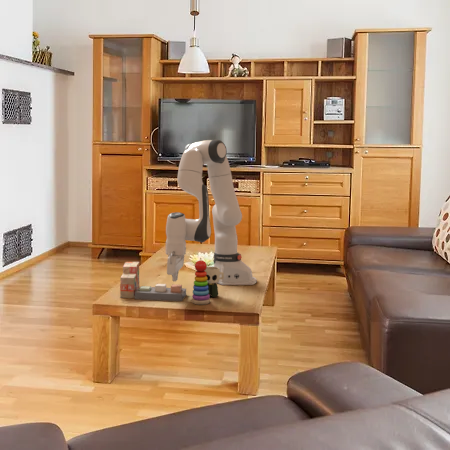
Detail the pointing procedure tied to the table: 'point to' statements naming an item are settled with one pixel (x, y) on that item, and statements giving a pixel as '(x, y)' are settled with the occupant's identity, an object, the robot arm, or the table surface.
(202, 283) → the stacking toy
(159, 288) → the cream button
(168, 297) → the button panel
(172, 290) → the terracotta button
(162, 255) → the table surface
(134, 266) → the stack of blocks
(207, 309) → the table surface
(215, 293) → the character mug
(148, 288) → the sage button
